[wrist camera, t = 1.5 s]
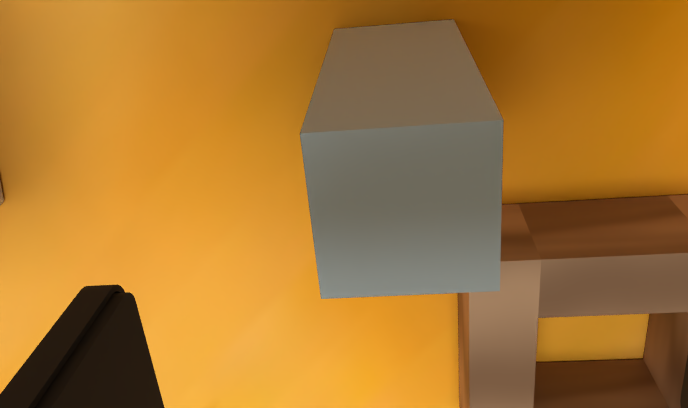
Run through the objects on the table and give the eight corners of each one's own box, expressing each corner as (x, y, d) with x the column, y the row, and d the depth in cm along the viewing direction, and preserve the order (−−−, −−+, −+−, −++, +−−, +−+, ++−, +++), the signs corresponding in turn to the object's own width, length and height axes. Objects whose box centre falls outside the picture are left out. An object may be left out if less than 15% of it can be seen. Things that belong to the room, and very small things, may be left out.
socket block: (456, 207, 25) (469, 263, 21) (732, 191, 24) (794, 247, 20) (459, 404, 29) (469, 478, 25) (691, 398, 28) (736, 474, 25)
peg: (334, 28, 22) (299, 133, 13) (453, 19, 21) (503, 120, 13) (344, 139, 24) (321, 298, 15) (455, 132, 23) (499, 291, 14)
